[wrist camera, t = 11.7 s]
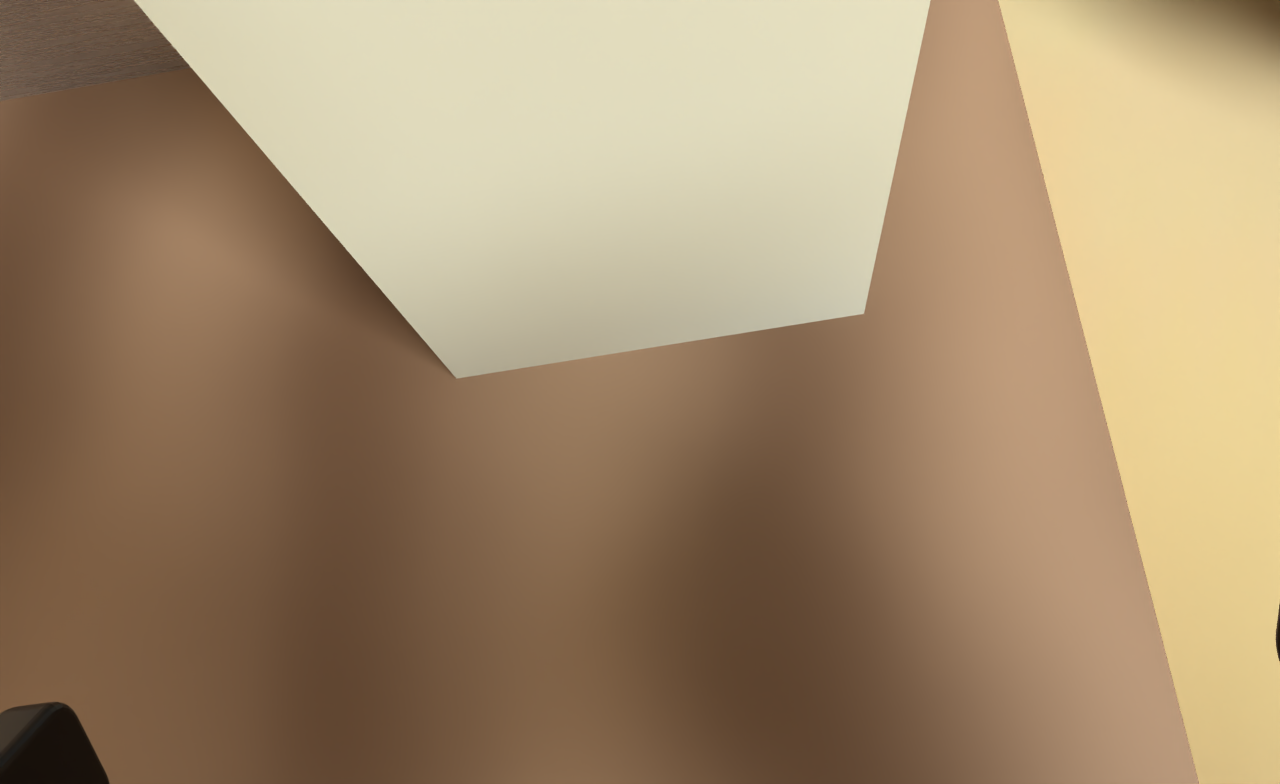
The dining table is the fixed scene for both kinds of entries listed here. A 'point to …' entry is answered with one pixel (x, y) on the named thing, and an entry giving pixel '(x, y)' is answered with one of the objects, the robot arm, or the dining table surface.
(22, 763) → the robot arm
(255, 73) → the tea box
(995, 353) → the shelf board
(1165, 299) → the dining table surface
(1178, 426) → the dining table surface
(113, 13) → the price rail
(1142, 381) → the dining table surface
